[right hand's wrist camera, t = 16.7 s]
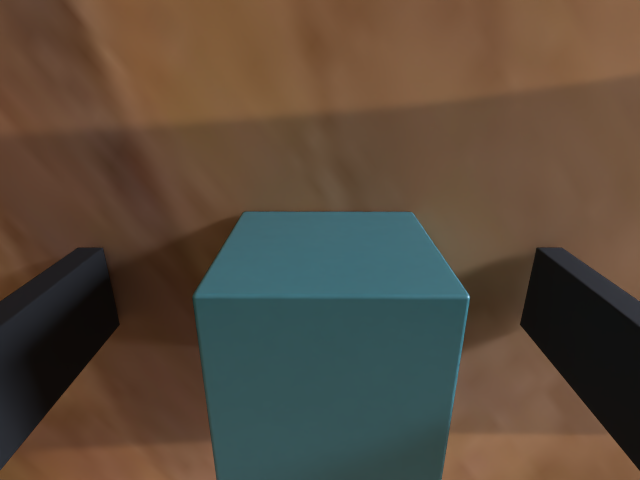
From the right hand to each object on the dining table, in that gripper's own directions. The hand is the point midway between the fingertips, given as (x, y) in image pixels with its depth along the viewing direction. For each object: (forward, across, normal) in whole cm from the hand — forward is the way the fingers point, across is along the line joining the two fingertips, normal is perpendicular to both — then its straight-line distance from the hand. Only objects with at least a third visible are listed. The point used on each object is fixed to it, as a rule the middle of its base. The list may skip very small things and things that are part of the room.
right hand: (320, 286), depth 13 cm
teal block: (0, 0, 0) cm, 0 cm away
